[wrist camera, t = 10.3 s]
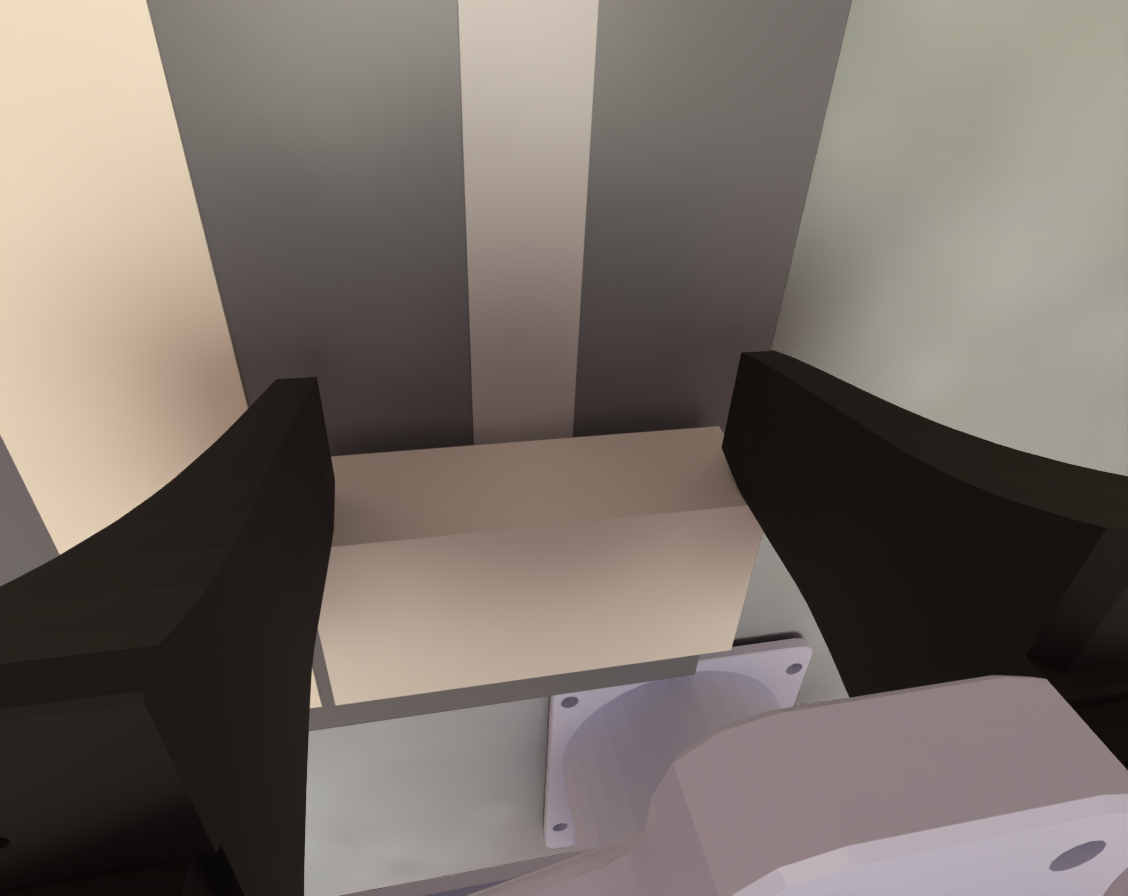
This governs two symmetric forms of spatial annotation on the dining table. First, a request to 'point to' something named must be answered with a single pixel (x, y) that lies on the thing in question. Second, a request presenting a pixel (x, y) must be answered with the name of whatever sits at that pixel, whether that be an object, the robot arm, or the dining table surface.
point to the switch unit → (385, 236)
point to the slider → (531, 560)
